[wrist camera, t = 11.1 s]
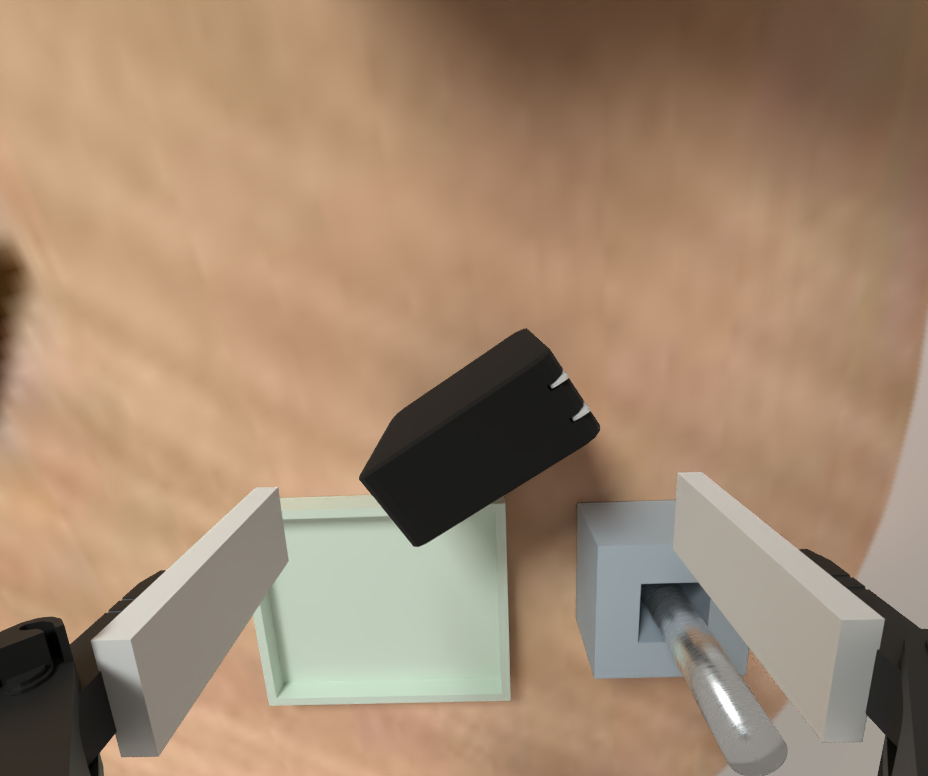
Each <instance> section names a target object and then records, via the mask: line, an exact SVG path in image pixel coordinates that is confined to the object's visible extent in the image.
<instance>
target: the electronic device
mask: <svg viewBox="0 0 928 776" xmlns="http://www.w3.org/2000/svg"><path fill="white" fill-rule="evenodd" d="M599 431H600V425H599V423H598V422H597V420H596V419H595V417H594V416H593V414H592V413H591V411H590V408H589V407H588V406H587V405H586V404H585V402H584V401H583V399H582V397H581V396H580V394H579V393H578V391H577V390H576V388H575V387H574V385H573V384H572V382H571V381H570V379H569V377H568V375H567V374H566V373H565V372H564V371H563V370H562V367H561V366H560V364H559V362H558V361H557V359H556V358H555V356H554V355H553V353H552V352H551V350H550V349H549V348H548V347H547V346H546V345H544V344H543V343H542V342H541V341H540V340H539V339H538V338H537V337H536V336H534V335H533V334H532V333H531V332H530V331H529V330H528V329H522V330H520V331H518V332H516V333H514V334H512V335H511V336H509V337H508V338H506V339H505V340H504V341H502V342H501V343H499V344H498V345H496V346H495V347H493V348H492V349H490V350H489V351H487V352H486V353H484V354H483V355H482V356H480V357H479V358H477V359H476V360H474V361H473V362H471V363H470V364H468V365H467V366H465V367H464V368H462V369H461V370H460V371H458V372H457V373H455V374H454V375H452V376H451V377H449V378H448V379H446V380H445V381H443V382H442V383H441V384H439V385H438V386H436V387H435V388H433V389H432V390H430V391H429V392H427V393H426V394H424V395H423V396H421V397H420V398H419V399H417V400H416V401H414V402H413V403H411V404H410V405H408V406H407V407H405V408H404V409H403V410H401V411H400V412H399V413H398V414H397V415H396V416H395V417H394V418H393V419H392V420H391V422H390V424H389V425H388V427H387V429H386V431H385V432H384V434H383V436H382V438H381V439H380V441H379V443H378V445H377V446H376V448H375V450H374V452H373V453H372V455H371V457H370V459H369V460H368V462H367V464H366V466H365V467H364V469H363V471H362V472H361V474H360V476H359V480H360V481H361V482H362V483H363V485H364V486H365V487H366V488H367V490H368V491H369V492H370V493H371V495H372V496H373V497H374V498H375V499H376V501H377V502H378V503H379V504H380V506H381V507H382V508H383V509H384V511H385V512H386V513H387V514H388V516H389V517H390V518H391V519H392V521H393V522H394V523H395V524H396V526H397V527H398V528H399V529H400V531H401V532H402V533H403V534H404V536H405V537H406V538H407V539H408V540H409V542H410V543H411V544H412V545H413V547H420V546H422V545H424V544H427V543H428V542H430V541H432V540H433V539H435V538H436V537H438V536H440V535H441V534H443V533H444V532H446V531H448V530H449V529H451V528H453V527H454V526H456V525H457V524H459V523H461V522H462V521H464V520H465V519H467V518H469V517H470V516H472V515H473V514H475V513H477V512H478V511H480V510H481V509H483V508H485V507H486V506H488V505H490V504H491V503H493V502H494V501H496V500H498V499H499V498H501V497H502V496H504V495H506V494H507V493H509V492H510V491H512V490H514V489H515V488H517V487H518V486H520V485H522V484H523V483H525V482H527V481H528V480H530V479H531V478H533V477H535V476H536V475H538V474H539V473H541V472H543V471H544V470H546V469H547V468H549V467H551V466H552V465H554V464H556V463H557V462H559V461H560V460H562V459H564V458H565V457H567V456H568V455H570V454H572V453H573V452H575V451H576V450H578V449H580V448H581V447H583V446H584V445H586V444H587V443H589V442H590V441H591V440H592V439H594V438H595V437H596V435H597V434H598V432H599Z"/></svg>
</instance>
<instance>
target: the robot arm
mask: <svg viewBox="0 0 928 776" xmlns="http://www.w3.org/2000/svg"><path fill="white" fill-rule="evenodd" d="M673 550H674V551H675V552H676V554H677V555H678V556H679V558H680V559H681V560H682V561H683V563H684V564H685V565H686V567H687V568H688V569H689V571H690V572H691V573H692V574H693V576H694V577H695V578H696V580H697V581H698V582H699V584H700V585H701V586H702V587H703V589H704V590H705V591H706V593H707V594H708V595H709V597H710V598H711V599H712V600H713V602H714V603H715V604H716V606H717V607H718V608H719V610H720V611H721V612H722V613H723V615H724V616H725V617H726V619H727V620H728V621H729V622H730V624H731V625H732V626H733V628H734V629H735V630H736V632H737V633H738V634H739V635H740V637H741V638H742V639H743V641H744V642H745V643H746V645H747V646H748V647H749V648H750V650H751V651H752V652H753V654H754V655H755V656H756V658H757V659H758V660H759V661H760V663H761V664H762V665H763V667H764V668H765V669H766V671H767V672H768V673H769V674H770V676H771V677H772V678H773V680H774V681H775V682H776V683H777V685H778V686H779V687H780V689H781V690H782V691H783V693H784V694H785V695H786V696H787V698H788V699H789V700H790V702H791V703H792V704H793V706H794V707H795V708H796V709H797V710H798V712H799V713H800V715H801V716H802V717H803V718H804V720H805V721H806V722H807V724H808V725H809V726H810V728H811V729H812V730H813V731H814V733H815V734H816V735H817V737H818V738H819V739H820V741H821V742H822V743H835V742H862V741H863V736H864V731H865V725H866V719H867V715H868V716H869V718H870V719H871V720H872V721H873V722H874V723H875V724H876V725H877V726H878V727H879V728H880V729H881V730H882V732H883V733H884V734H885V741H884V746H883V751H882V756H881V761H880V766H879V771H878V776H928V629H920V628H919V627H917V626H916V625H915V624H914V623H912V622H911V621H909V620H908V619H907V618H906V617H904V616H903V615H902V614H900V613H899V612H898V611H896V610H895V609H894V608H893V607H891V606H890V605H889V604H887V603H886V602H885V601H883V600H882V599H880V598H879V597H878V596H877V595H875V594H874V593H873V592H871V591H870V590H866V589H865V586H864V585H862V584H861V583H860V582H858V581H857V580H856V579H854V578H850V575H849V574H848V573H846V572H845V571H844V570H843V569H841V568H840V567H839V566H837V565H836V564H835V563H833V562H832V561H831V560H828V559H826V558H824V557H822V556H820V555H818V554H816V553H814V552H812V551H810V550H808V549H797V548H796V547H794V546H793V545H792V544H791V543H789V542H788V541H787V540H786V539H784V538H783V537H782V536H781V535H779V534H778V533H777V532H776V531H774V530H773V529H772V528H771V527H769V526H768V525H767V524H766V523H765V522H763V521H762V520H761V519H760V518H758V517H757V516H756V515H755V514H753V513H752V512H751V511H750V510H748V509H747V508H746V507H745V506H743V505H742V504H741V503H740V502H738V501H737V500H736V499H735V498H733V497H732V496H731V495H730V494H728V493H727V492H726V491H725V490H723V489H722V488H721V487H720V486H718V485H717V484H716V483H715V482H713V481H712V480H711V479H710V478H708V477H707V476H706V475H705V474H703V473H702V472H685V473H678V474H677V490H676V506H675V522H674V538H673ZM288 561H289V559H288V552H287V545H286V538H285V531H284V524H283V518H282V511H281V504H280V497H279V490H278V487H263V488H254V489H253V490H252V491H251V492H250V493H249V494H248V495H247V496H246V497H245V498H244V499H243V500H242V501H240V502H239V503H238V504H237V505H236V506H235V507H234V508H233V509H232V510H231V511H230V512H229V513H228V514H226V515H225V516H224V517H223V518H222V519H221V520H220V521H219V522H218V523H217V524H216V525H215V526H214V527H212V528H211V529H210V530H209V531H208V532H207V533H206V534H205V535H204V536H203V537H202V538H201V539H200V540H199V541H197V542H196V543H195V544H194V545H193V546H192V547H191V548H190V549H189V550H188V551H187V552H186V553H185V554H183V555H182V556H181V557H180V558H179V559H178V560H177V561H176V562H175V563H174V564H173V565H172V566H171V567H169V568H168V569H167V570H163V571H159V572H157V573H156V574H154V575H152V576H150V577H149V578H147V579H145V580H144V581H142V582H140V583H139V584H138V585H136V586H135V587H134V588H133V589H132V590H131V591H130V592H129V593H127V594H126V595H125V596H124V597H123V599H122V601H118V602H117V603H116V604H115V605H114V606H113V607H112V608H111V609H110V610H109V612H108V613H105V614H104V615H103V616H102V617H101V618H99V619H98V620H97V621H96V622H95V623H94V624H93V625H92V626H90V627H89V628H88V629H87V630H86V631H85V632H84V633H83V634H81V635H80V636H79V637H78V638H77V639H76V640H75V641H74V642H72V643H71V644H69V641H68V637H67V634H66V630H65V626H64V624H63V621H62V619H60V618H56V617H43V618H37V619H33V620H30V621H26V622H23V623H20V624H17V625H15V626H13V627H10V628H8V629H6V630H3V631H1V632H0V776H104V771H103V763H102V760H101V756H100V752H101V750H102V749H103V748H104V747H105V745H106V744H107V743H108V742H109V740H110V739H111V738H112V737H113V735H114V734H115V735H116V739H117V742H118V746H119V750H120V754H121V757H155V756H159V755H160V754H161V752H162V751H163V749H164V748H165V746H166V745H167V743H168V742H169V740H170V739H171V737H172V736H173V734H174V733H175V731H176V730H177V728H178V727H179V725H180V724H181V722H182V721H183V719H184V718H185V716H186V715H187V713H188V712H189V710H190V709H191V707H192V706H193V704H194V703H195V701H196V700H197V698H198V697H199V695H200V694H201V692H202V691H203V689H204V688H205V686H206V685H207V683H208V682H209V680H210V679H211V677H212V676H213V674H214V673H215V671H216V670H217V668H218V667H219V665H220V664H221V662H222V661H223V659H224V658H225V656H226V655H227V653H228V652H229V650H230V649H231V647H232V646H233V644H234V643H235V641H236V640H237V638H238V637H239V635H240V634H241V632H242V631H243V629H244V628H245V626H246V625H247V623H248V622H249V620H250V619H251V617H252V615H253V614H254V612H255V611H256V609H257V608H258V606H259V605H260V603H261V602H262V600H263V599H264V597H265V596H266V594H267V593H268V591H269V590H270V588H271V587H272V585H273V584H274V582H275V581H276V579H277V578H278V576H279V575H280V573H281V572H282V570H283V569H284V567H285V566H286V564H287V563H288Z"/></svg>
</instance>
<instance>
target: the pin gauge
mask: <svg viewBox="0 0 928 776" xmlns="http://www.w3.org/2000/svg"><path fill="white" fill-rule="evenodd" d="M640 595H641V597H642V599H643V601H644V603H645V604H646V606H647V608H648V610H649V612H650V614H651V616H652V618H653V620H654V622H655V624H656V626H657V628H658V629H659V631H660V633H661V635H662V637H663V639H664V641H665V643H666V645H667V647H668V649H669V651H670V652H671V654H672V656H673V658H674V660H675V662H676V664H677V666H678V668H679V670H680V672H681V674H682V676H683V677H684V679H685V681H686V683H687V685H688V687H689V689H690V691H691V693H692V695H693V697H694V699H695V700H696V702H697V704H698V706H699V708H700V710H701V712H702V714H703V716H704V718H705V720H706V722H707V723H708V725H709V727H710V729H711V731H712V733H713V735H714V737H715V739H716V741H717V743H718V745H719V747H720V748H721V750H722V752H723V754H724V756H725V758H726V760H727V762H728V764H729V766H730V767H731V768H732V769H733V770H734V771H735V772H737V773H739V774H741V775H745V776H764V775H767V774H770V773H772V772H774V771H775V770H776V769H778V768H779V767H780V766H781V765H782V764H783V763H784V761H785V759H786V757H787V746H786V743H785V741H784V740H783V739H782V737H781V735H780V734H779V733H778V731H777V729H776V728H775V726H774V725H773V723H772V722H771V720H770V719H769V717H768V716H767V714H766V713H765V711H764V710H763V708H762V707H761V705H760V704H759V702H758V701H757V699H756V698H755V696H754V695H753V693H752V692H751V690H750V689H749V687H748V686H747V685H746V683H745V682H744V680H743V679H742V677H741V676H740V674H739V673H738V671H737V670H736V668H735V667H734V665H733V664H732V662H731V661H730V659H729V658H728V656H727V655H726V653H725V652H724V650H723V649H722V647H721V646H720V644H719V643H718V641H717V640H716V638H715V637H714V635H713V634H712V632H711V631H710V629H709V628H708V626H707V625H706V623H705V622H704V620H703V619H702V617H701V616H700V614H699V613H698V611H697V610H696V608H695V607H694V605H693V604H692V602H691V601H690V599H689V598H688V596H687V595H686V593H685V592H684V590H683V589H682V587H681V586H680V584H679V583H657V584H641V593H640Z"/></svg>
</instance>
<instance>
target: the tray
mask: <svg viewBox="0 0 928 776" xmlns="http://www.w3.org/2000/svg"><path fill="white" fill-rule="evenodd" d="M280 504H281V511H282V518H283V524H284V531H285V538H286V545H287V552H288V559H289V561H288V563H287V564H286V566H285V567H284V569H283V570H282V572H281V573H280V575H279V576H278V578H277V579H276V581H275V582H274V584H273V585H272V587H271V588H270V590H269V591H268V593H267V594H266V596H265V597H264V599H263V600H262V602H261V603H260V605H259V606H258V608H257V609H256V611H255V612H254V614H253V618H254V623H255V629H256V634H257V640H258V645H259V651H260V656H261V662H262V668H263V673H264V679H265V684H266V690H267V695H268V701H269V706H277V705H325V704H374V703H422V702H471V701H511V695H510V657H509V619H508V581H507V543H506V505H505V497H504V496H502V497H501V498H499V499H498V500H496V501H494V502H493V503H491V504H490V505H488V506H486V507H485V508H483V509H481V510H480V511H478V512H477V513H475V514H473V515H472V516H470V517H469V518H467V519H465V520H464V521H462V522H461V523H459V524H457V525H456V526H454V527H453V528H451V529H449V530H448V531H446V532H444V533H443V534H441V535H440V536H438V537H436V538H435V539H433V540H432V541H430V542H428V543H427V544H424V545H422V546H420V547H413V545H412V544H411V543H410V542H409V540H408V539H407V538H406V537H405V536H404V534H403V533H402V532H401V531H400V529H399V528H398V527H397V526H396V524H395V523H394V522H393V521H392V519H391V518H390V517H389V516H388V514H387V513H386V512H385V511H384V509H383V508H382V507H381V506H380V504H379V503H378V502H377V501H376V499H375V498H374V497H373V496H372V495H354V496H324V497H294V498H280Z"/></svg>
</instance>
